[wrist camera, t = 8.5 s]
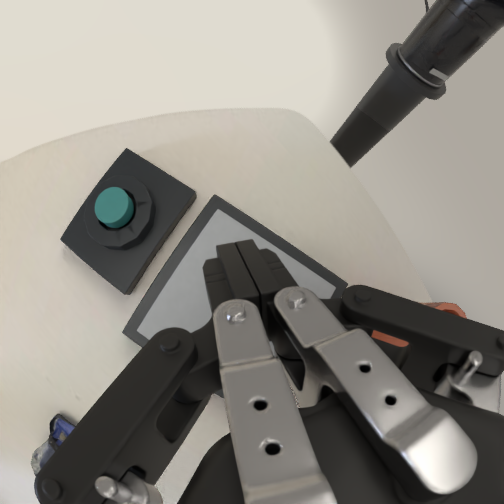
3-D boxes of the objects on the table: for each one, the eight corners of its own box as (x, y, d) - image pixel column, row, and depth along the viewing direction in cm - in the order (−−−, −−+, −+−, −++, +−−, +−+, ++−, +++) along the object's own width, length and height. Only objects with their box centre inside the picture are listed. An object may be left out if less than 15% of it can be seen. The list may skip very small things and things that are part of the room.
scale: (214, 201, 23) (214, 191, 21) (338, 284, 24) (351, 283, 21) (129, 329, 20) (119, 333, 18) (260, 409, 21) (265, 421, 18)
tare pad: (130, 154, 23) (121, 138, 20) (196, 197, 23) (194, 183, 20) (67, 242, 21) (50, 235, 18) (129, 294, 21) (118, 294, 18)
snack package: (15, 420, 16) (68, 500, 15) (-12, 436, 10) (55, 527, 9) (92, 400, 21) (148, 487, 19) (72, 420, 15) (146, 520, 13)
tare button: (116, 187, 19) (109, 180, 18) (141, 205, 20) (135, 198, 18) (95, 216, 19) (87, 210, 17) (119, 235, 19) (112, 230, 17)
